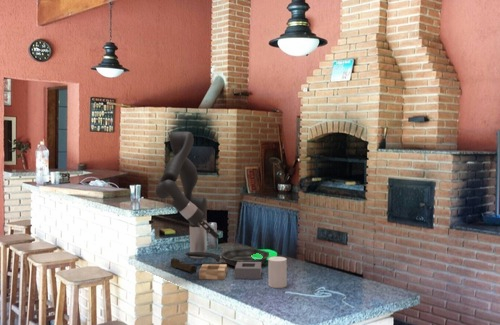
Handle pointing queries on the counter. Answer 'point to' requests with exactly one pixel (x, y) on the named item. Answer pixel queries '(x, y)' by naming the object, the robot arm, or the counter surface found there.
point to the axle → (212, 240)
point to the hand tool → (183, 266)
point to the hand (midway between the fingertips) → (216, 236)
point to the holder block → (248, 270)
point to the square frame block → (213, 271)
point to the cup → (277, 272)
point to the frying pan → (233, 256)
